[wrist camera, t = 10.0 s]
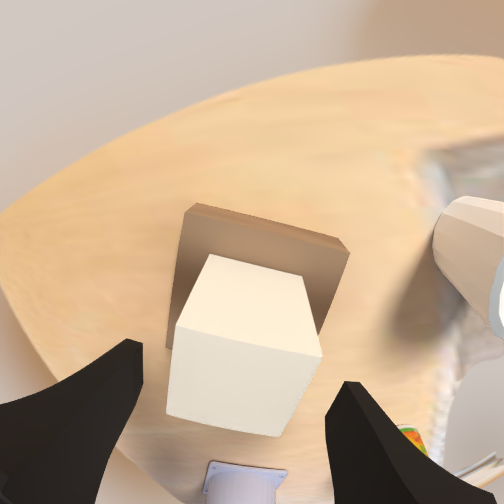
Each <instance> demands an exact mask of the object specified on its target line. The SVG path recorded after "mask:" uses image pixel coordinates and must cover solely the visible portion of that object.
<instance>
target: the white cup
mask: <svg viewBox="0 0 504 504" xmlns="http://www.w3.org/2000/svg"><path fill="white" fill-rule="evenodd" d="M432 249H433V255H434V261H435V262H436V264H437V266H438V267H439V269H440V271H441V272H442V273H443V274H444V275H445V276H446V278H447V279H448V280H449V281H450V282H451V283H452V284H453V285H454V286H455V288H456V289H457V290H458V291H459V292H460V293H461V295H462V296H463V297H464V298H465V299H466V300H467V302H468V303H469V304H470V305H471V306H472V308H473V309H474V310H475V311H476V312H477V314H478V315H479V316H480V317H481V319H482V320H483V321H484V322H485V324H486V325H487V326H488V328H489V329H490V330H491V331H492V333H493V334H494V335H495V336H497V337H500V338H502V339H504V202H500V201H494V200H489V199H483V198H477V197H470V196H463V197H461V198H458V199H456V200H454V201H452V202H451V203H450V204H449V205H448V206H447V207H446V209H445V210H444V211H443V212H442V213H441V215H440V218H439V220H438V222H437V224H436V226H435V228H434V235H433V242H432Z"/></svg>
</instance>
